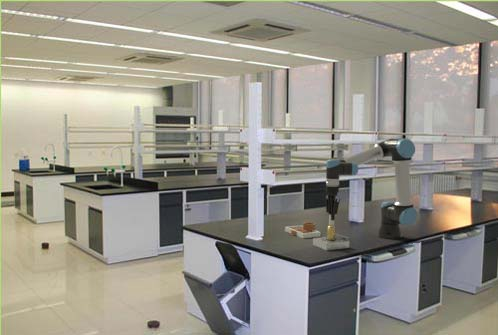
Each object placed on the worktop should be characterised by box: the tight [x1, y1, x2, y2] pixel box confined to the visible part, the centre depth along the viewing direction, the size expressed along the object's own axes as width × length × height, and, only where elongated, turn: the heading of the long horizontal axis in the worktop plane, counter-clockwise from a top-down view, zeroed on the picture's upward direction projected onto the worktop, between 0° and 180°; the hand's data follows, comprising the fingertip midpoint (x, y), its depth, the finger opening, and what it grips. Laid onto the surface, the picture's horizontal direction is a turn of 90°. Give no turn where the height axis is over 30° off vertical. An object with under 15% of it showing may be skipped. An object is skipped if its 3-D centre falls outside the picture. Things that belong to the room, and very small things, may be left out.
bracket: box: [290, 221, 316, 237], centre depth 296 cm, size 18×8×7 cm, turn 121°
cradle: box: [284, 224, 321, 239], centre depth 296 cm, size 13×23×3 cm, turn 24°
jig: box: [312, 232, 350, 251], centre depth 262 cm, size 16×14×6 cm
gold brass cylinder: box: [326, 225, 336, 241], centre depth 262 cm, size 4×4×12 cm
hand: (331, 225), depth 262 cm, fingers closed
